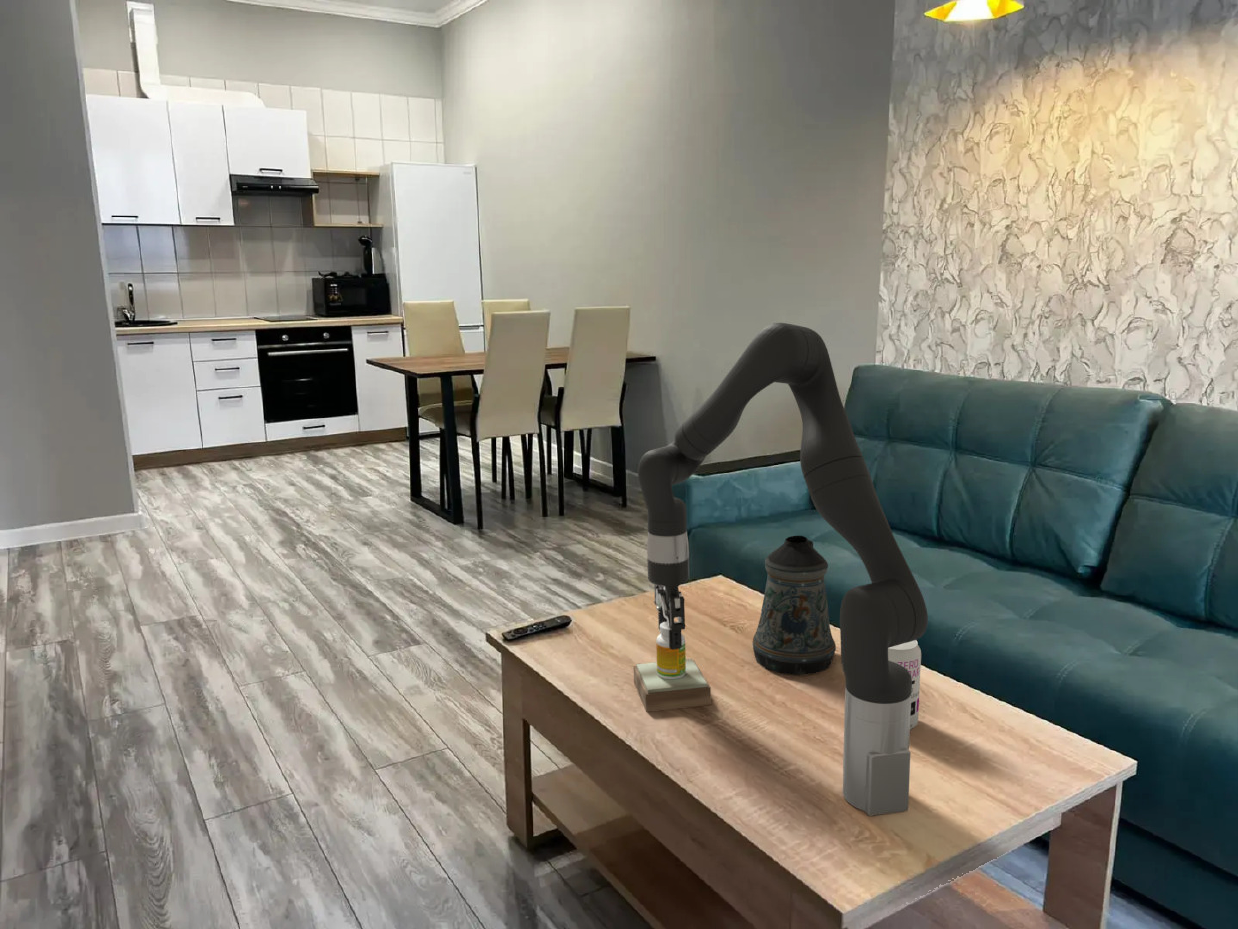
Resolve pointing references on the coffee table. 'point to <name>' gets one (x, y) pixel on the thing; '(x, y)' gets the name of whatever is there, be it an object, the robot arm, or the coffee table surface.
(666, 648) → the supplement bottle
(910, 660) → the supplement can
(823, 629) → the painted ceramic vase
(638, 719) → the coffee table surface
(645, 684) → the plinth
